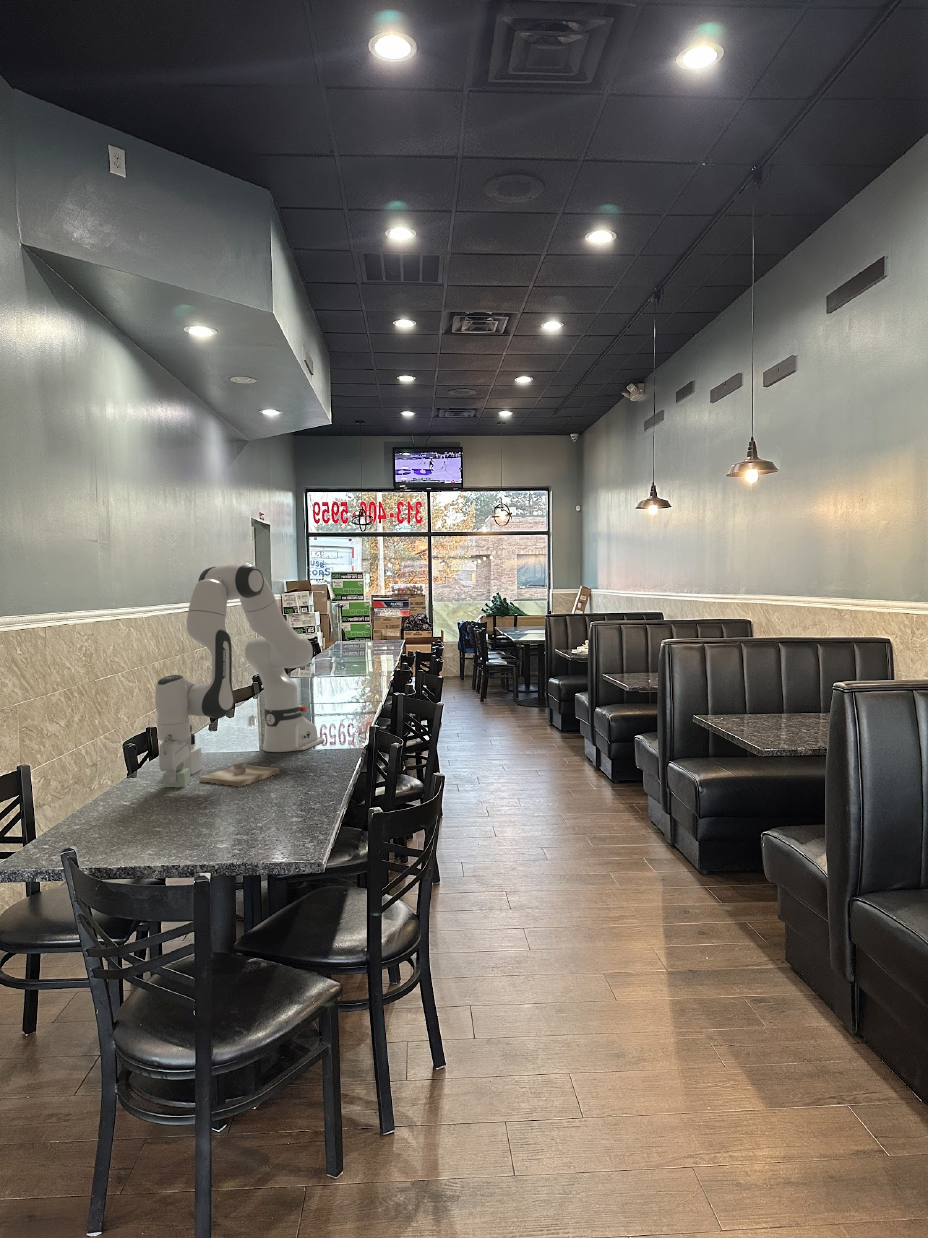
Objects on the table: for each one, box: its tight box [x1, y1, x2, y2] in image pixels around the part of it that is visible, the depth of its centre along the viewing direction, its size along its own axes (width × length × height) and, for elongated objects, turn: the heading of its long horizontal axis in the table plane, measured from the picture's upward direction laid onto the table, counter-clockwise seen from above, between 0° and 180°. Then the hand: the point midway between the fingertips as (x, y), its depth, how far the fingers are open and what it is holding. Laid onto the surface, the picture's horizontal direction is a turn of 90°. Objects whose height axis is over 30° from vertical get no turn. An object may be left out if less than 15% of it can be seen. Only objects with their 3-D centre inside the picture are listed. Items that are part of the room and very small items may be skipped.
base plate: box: [199, 761, 280, 788], centre depth 235 cm, size 16×16×4 cm
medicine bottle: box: [176, 732, 203, 775], centre depth 245 cm, size 7×7×12 cm
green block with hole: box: [162, 768, 191, 789], centre depth 230 cm, size 6×6×4 cm
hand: (176, 779), depth 230 cm, fingers closed on green block with hole, 6 cm apart
